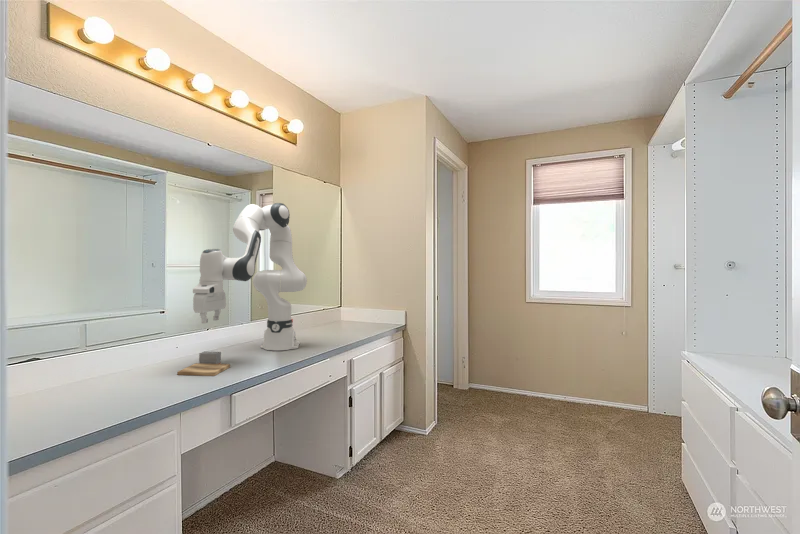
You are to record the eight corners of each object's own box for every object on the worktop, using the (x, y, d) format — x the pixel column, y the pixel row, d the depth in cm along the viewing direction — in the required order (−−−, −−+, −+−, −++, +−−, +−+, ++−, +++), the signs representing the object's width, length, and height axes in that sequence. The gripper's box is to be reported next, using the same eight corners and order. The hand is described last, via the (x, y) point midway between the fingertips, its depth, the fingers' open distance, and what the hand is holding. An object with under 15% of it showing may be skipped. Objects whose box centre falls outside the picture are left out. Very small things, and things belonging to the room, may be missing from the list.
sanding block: (204, 363, 169) (204, 351, 169) (220, 363, 169) (220, 351, 169) (199, 365, 165) (199, 353, 165) (216, 366, 165) (216, 353, 165)
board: (195, 366, 164) (195, 363, 164) (230, 367, 163) (230, 364, 163) (177, 374, 151) (177, 371, 151) (214, 375, 150) (214, 372, 150)
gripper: (215, 286, 178) (215, 318, 178) (190, 289, 157) (189, 324, 157) (230, 287, 177) (229, 318, 177) (206, 289, 157) (205, 325, 157)
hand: (210, 321), depth 167 cm, fingers open, 8 cm apart
